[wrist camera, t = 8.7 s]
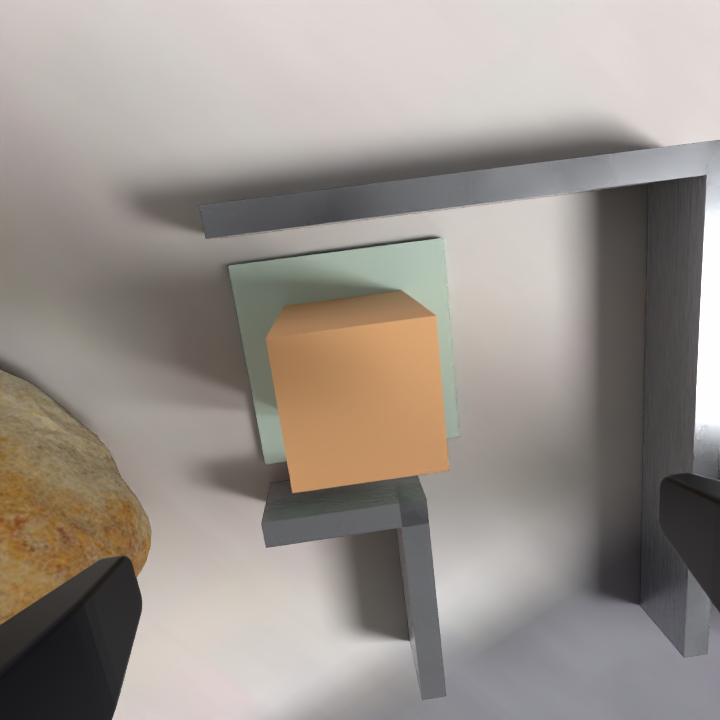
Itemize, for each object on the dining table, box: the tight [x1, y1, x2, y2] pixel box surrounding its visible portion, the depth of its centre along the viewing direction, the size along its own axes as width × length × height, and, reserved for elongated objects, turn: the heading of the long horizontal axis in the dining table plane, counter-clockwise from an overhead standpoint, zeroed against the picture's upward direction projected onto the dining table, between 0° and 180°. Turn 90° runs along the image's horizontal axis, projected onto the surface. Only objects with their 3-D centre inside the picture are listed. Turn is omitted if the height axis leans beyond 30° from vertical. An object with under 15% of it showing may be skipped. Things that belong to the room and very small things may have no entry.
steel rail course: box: [199, 140, 720, 700], centre depth 20 cm, size 17×20×3 cm
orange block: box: [266, 291, 449, 493], centre depth 17 cm, size 4×4×6 cm
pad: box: [228, 238, 459, 465], centre depth 20 cm, size 8×8×1 cm
